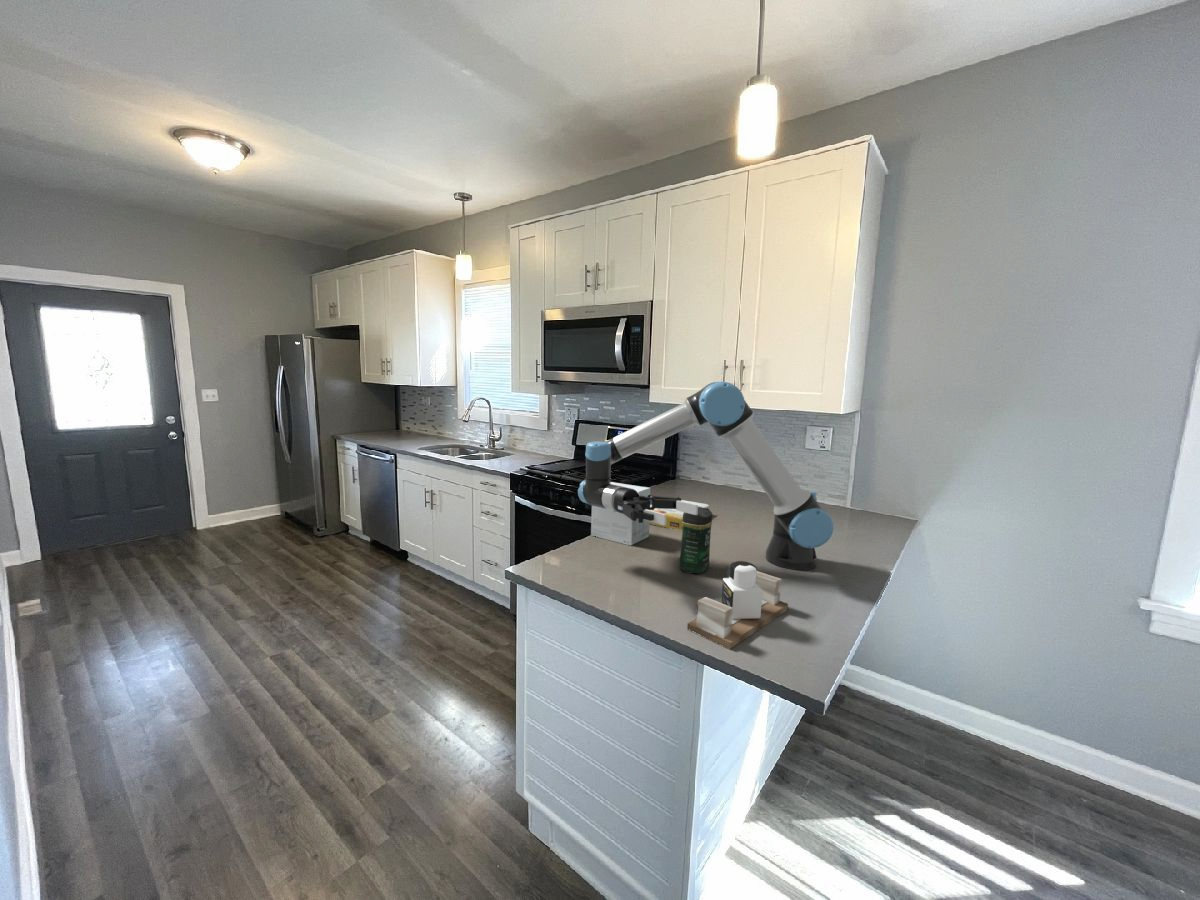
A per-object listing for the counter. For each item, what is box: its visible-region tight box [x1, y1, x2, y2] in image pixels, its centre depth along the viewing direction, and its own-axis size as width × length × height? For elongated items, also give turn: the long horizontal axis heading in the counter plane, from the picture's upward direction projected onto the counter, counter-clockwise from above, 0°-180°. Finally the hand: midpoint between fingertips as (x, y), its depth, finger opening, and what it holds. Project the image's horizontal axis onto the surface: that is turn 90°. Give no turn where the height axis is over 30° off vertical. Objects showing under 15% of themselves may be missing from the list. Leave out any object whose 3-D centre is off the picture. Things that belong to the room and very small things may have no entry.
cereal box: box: [649, 499, 710, 531], centre depth 197 cm, size 20×6×28 cm
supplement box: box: [590, 481, 651, 546], centre depth 172 cm, size 17×13×18 cm
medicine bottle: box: [720, 560, 762, 619], centre depth 114 cm, size 7×7×12 cm
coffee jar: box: [679, 507, 713, 574], centre depth 144 cm, size 10×8×19 cm
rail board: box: [686, 570, 789, 650], centre depth 114 cm, size 27×11×8 cm, turn 134°
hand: (681, 514), depth 124 cm, fingers open, 13 cm apart
